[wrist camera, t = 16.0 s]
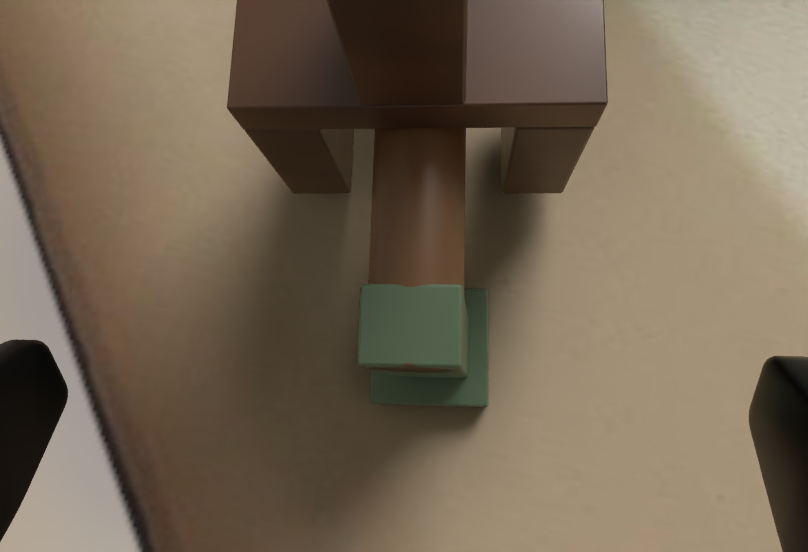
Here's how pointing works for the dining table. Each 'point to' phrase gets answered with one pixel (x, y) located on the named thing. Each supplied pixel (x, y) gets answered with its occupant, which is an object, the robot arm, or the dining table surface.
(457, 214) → the stand
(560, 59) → the brown stepped block
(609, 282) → the dining table surface
